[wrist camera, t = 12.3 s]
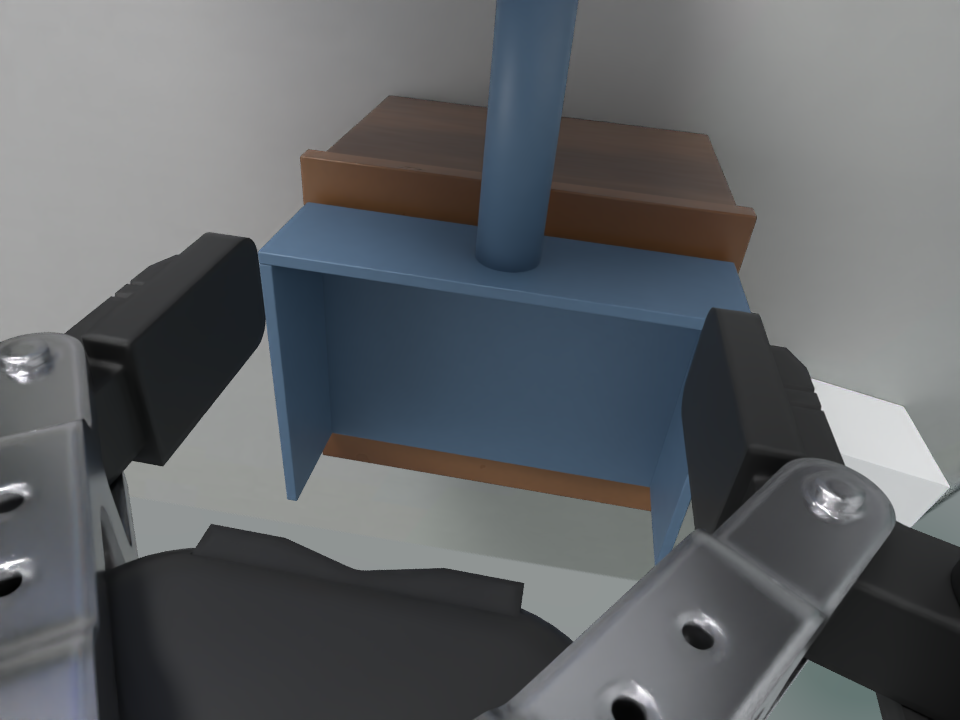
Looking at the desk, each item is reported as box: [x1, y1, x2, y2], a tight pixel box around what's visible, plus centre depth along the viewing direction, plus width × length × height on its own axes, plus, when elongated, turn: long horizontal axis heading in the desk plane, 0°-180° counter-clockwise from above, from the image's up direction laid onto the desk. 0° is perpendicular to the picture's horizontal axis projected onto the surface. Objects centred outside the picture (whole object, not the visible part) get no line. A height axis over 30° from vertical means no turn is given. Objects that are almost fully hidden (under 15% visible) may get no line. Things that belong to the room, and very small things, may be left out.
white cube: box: [811, 378, 950, 528], centre depth 35 cm, size 6×6×6 cm
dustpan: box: [258, 0, 751, 566], centre depth 21 cm, size 20×14×4 cm
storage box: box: [300, 96, 757, 511], centre depth 30 cm, size 15×15×10 cm
